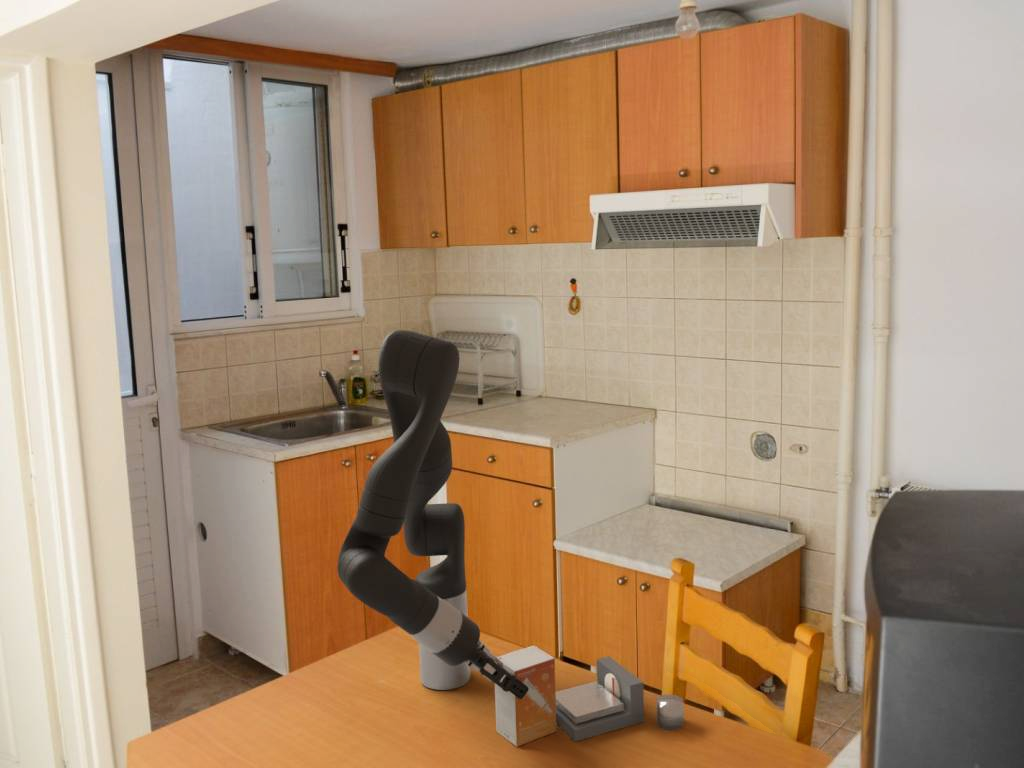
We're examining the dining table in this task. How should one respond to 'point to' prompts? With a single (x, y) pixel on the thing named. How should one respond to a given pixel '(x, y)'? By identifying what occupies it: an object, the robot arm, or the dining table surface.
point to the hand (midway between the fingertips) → (513, 682)
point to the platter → (587, 702)
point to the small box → (527, 697)
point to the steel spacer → (670, 712)
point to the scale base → (622, 688)
